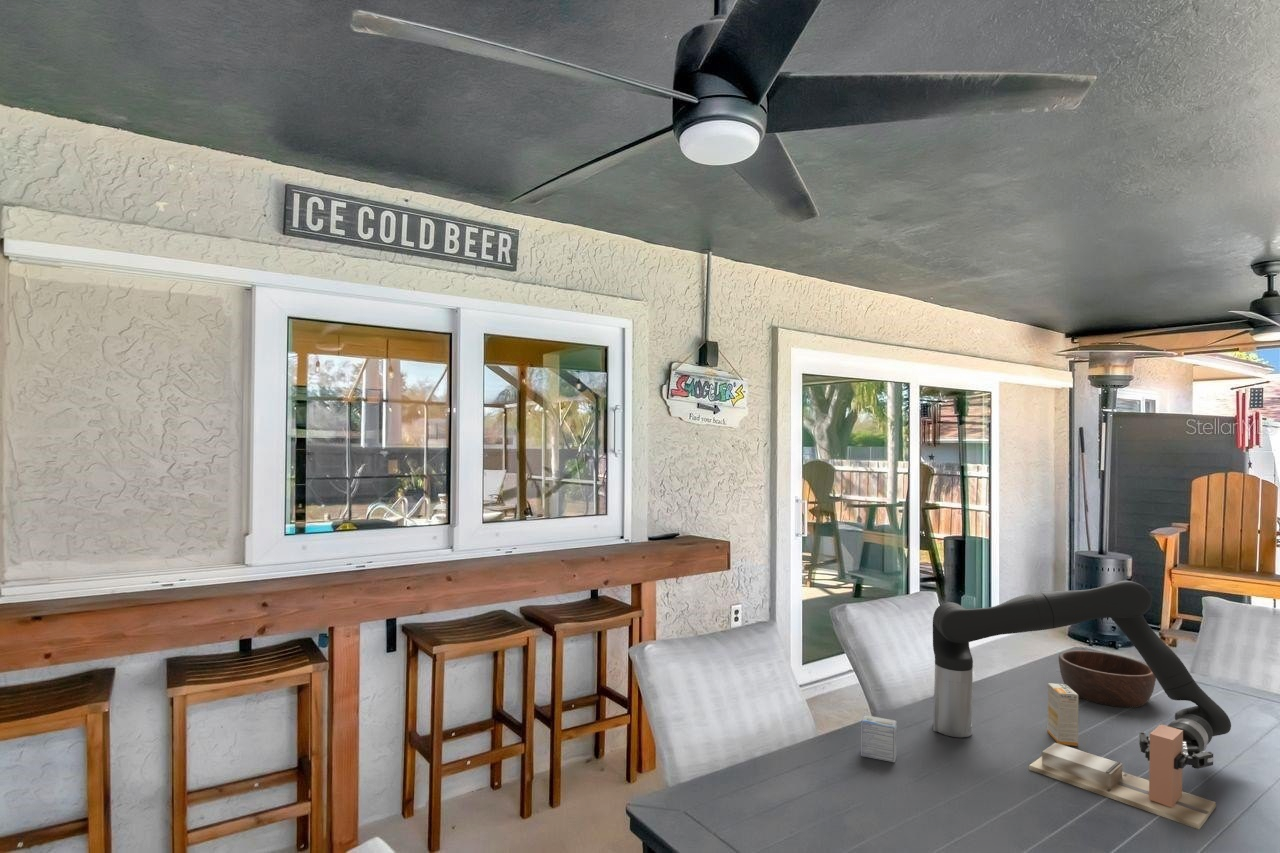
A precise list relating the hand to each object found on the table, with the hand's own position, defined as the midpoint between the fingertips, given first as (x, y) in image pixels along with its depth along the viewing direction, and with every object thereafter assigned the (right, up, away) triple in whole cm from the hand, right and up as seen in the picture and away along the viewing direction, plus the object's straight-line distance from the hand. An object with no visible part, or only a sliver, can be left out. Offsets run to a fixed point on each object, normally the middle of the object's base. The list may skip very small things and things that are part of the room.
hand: (1162, 760), depth 150 cm
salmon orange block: (+2, -9, +2) cm, 9 cm away
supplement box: (-1, -11, +34) cm, 35 cm away
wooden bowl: (+31, -12, +66) cm, 74 cm away
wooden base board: (-4, -10, +8) cm, 14 cm away
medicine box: (-53, -9, +21) cm, 58 cm away
